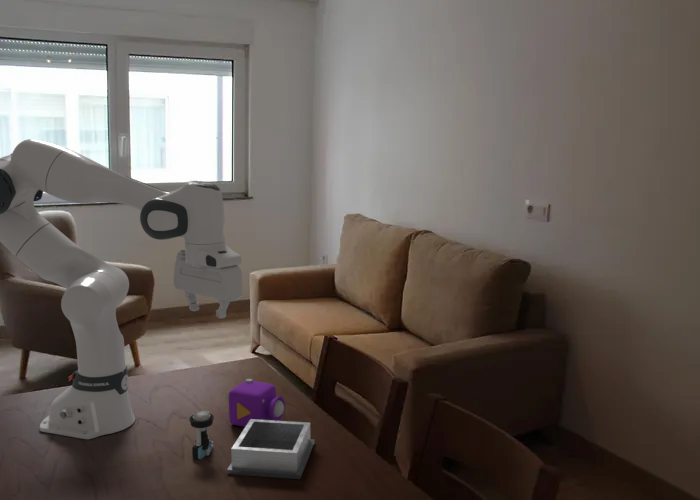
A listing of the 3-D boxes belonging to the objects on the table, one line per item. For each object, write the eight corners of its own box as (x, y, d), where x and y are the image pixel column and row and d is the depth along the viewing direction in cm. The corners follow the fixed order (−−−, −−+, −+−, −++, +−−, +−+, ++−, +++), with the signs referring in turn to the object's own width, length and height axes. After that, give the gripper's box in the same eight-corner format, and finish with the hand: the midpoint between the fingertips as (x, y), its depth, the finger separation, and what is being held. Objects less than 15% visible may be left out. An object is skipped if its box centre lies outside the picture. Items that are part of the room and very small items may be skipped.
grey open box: (227, 474, 149) (226, 450, 148) (248, 439, 166) (248, 417, 165) (300, 479, 147) (299, 455, 146) (314, 443, 164) (314, 421, 163)
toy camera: (278, 434, 169) (277, 395, 167) (225, 429, 171) (224, 390, 170) (290, 416, 179) (290, 379, 177) (240, 411, 182) (239, 375, 180)
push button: (203, 445, 163) (201, 405, 161) (222, 449, 161) (221, 408, 159) (186, 457, 157) (184, 416, 155) (206, 462, 155) (204, 419, 153)
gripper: (165, 250, 159) (168, 309, 161) (224, 261, 146) (226, 325, 149) (188, 247, 164) (190, 303, 166) (246, 257, 151) (248, 318, 153)
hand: (207, 314), depth 157 cm, fingers open, 8 cm apart
